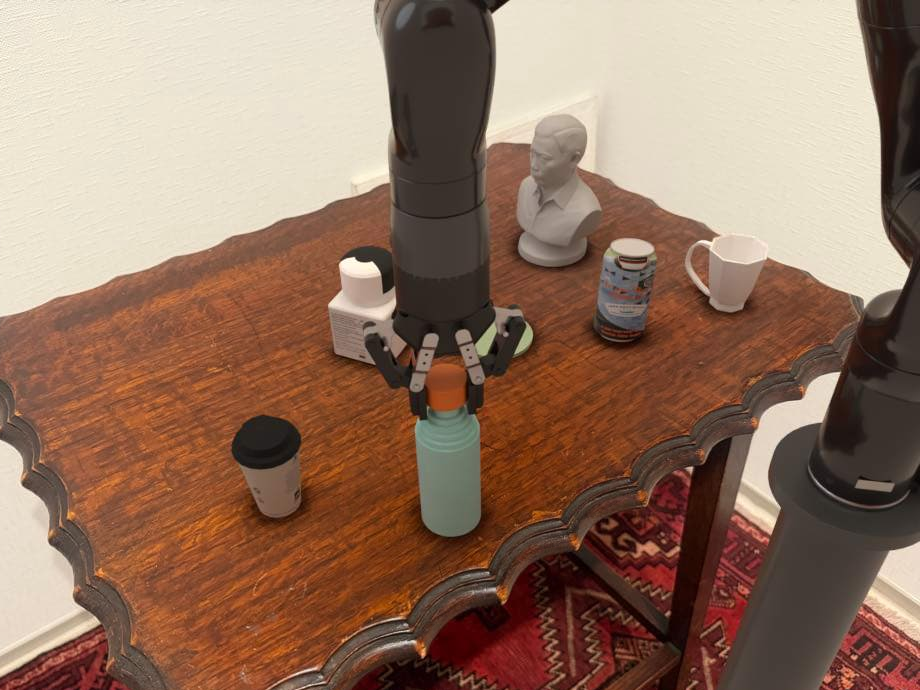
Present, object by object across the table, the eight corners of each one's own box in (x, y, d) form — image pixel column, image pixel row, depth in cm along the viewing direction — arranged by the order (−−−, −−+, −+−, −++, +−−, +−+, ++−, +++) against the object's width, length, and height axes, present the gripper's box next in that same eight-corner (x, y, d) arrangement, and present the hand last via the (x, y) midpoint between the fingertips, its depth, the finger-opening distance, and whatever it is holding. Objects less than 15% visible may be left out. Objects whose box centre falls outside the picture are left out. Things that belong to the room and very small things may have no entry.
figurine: (560, 281, 116) (572, 145, 103) (496, 243, 124) (499, 112, 111) (609, 254, 120) (626, 120, 107) (543, 219, 128) (552, 90, 115)
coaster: (523, 311, 112) (523, 308, 111) (541, 355, 105) (541, 351, 105) (454, 321, 111) (454, 317, 111) (467, 365, 105) (467, 361, 104)
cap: (470, 409, 76) (470, 389, 74) (427, 414, 76) (425, 394, 74) (463, 380, 79) (463, 361, 77) (421, 385, 79) (420, 366, 77)
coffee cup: (324, 506, 90) (312, 437, 83) (265, 537, 87) (247, 469, 81) (292, 466, 94) (278, 398, 88) (235, 495, 92) (216, 428, 85)
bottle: (474, 487, 90) (471, 357, 78) (486, 531, 86) (486, 401, 74) (417, 496, 90) (406, 366, 78) (426, 541, 86) (416, 411, 74)
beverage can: (590, 346, 106) (599, 263, 98) (596, 311, 111) (605, 229, 103) (643, 352, 104) (657, 268, 96) (647, 316, 109) (660, 233, 101)
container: (363, 319, 113) (353, 233, 104) (416, 333, 110) (411, 245, 101) (333, 354, 108) (320, 267, 99) (388, 370, 105) (380, 281, 96)
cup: (736, 326, 106) (750, 270, 101) (666, 294, 112) (675, 240, 107) (767, 300, 110) (782, 246, 104) (697, 271, 115) (708, 217, 110)
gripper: (351, 285, 64) (371, 450, 75) (543, 263, 64) (534, 430, 75) (345, 232, 69) (365, 393, 81) (522, 211, 69) (516, 375, 81)
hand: (446, 410), depth 78 cm, fingers closed on cap, 3 cm apart
